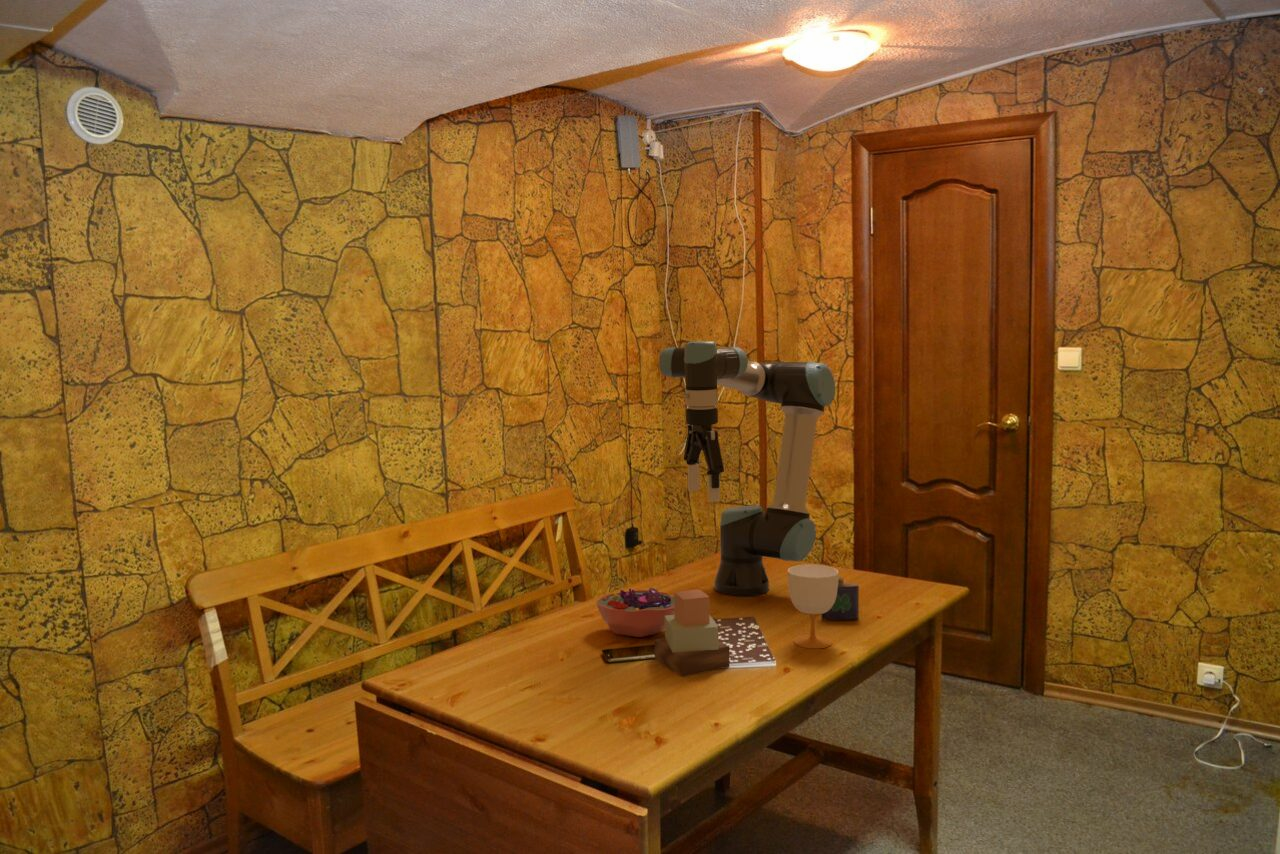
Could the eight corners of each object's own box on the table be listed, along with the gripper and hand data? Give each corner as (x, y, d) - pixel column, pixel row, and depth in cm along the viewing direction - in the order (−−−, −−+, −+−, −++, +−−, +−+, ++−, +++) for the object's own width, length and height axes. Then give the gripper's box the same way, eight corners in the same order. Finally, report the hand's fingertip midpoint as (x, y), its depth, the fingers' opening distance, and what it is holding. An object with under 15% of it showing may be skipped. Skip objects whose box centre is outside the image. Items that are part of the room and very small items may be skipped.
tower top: (664, 637, 209) (664, 615, 208) (708, 634, 210) (708, 612, 209) (672, 652, 199) (672, 629, 198) (718, 649, 200) (718, 627, 200)
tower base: (654, 661, 207) (654, 639, 207) (700, 651, 213) (700, 630, 212) (681, 679, 197) (681, 656, 196) (729, 668, 202) (729, 646, 202)
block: (674, 618, 206) (674, 591, 205) (699, 615, 208) (699, 589, 207) (683, 626, 200) (683, 599, 199) (709, 623, 202) (709, 596, 201)
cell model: (606, 620, 235) (605, 576, 234) (684, 624, 231) (683, 580, 230) (589, 643, 219) (588, 596, 217) (672, 648, 215) (672, 600, 213)
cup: (848, 641, 217) (848, 569, 215) (820, 654, 208) (821, 580, 207) (805, 630, 225) (805, 561, 223) (777, 643, 216) (777, 571, 215)
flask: (857, 617, 234) (857, 576, 233) (859, 621, 231) (860, 579, 230) (820, 617, 235) (820, 576, 233) (822, 621, 232) (822, 579, 230)
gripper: (669, 403, 229) (671, 488, 232) (705, 413, 205) (707, 507, 208) (698, 401, 231) (700, 485, 234) (737, 411, 207) (738, 504, 210)
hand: (703, 496), depth 221 cm, fingers open, 13 cm apart
